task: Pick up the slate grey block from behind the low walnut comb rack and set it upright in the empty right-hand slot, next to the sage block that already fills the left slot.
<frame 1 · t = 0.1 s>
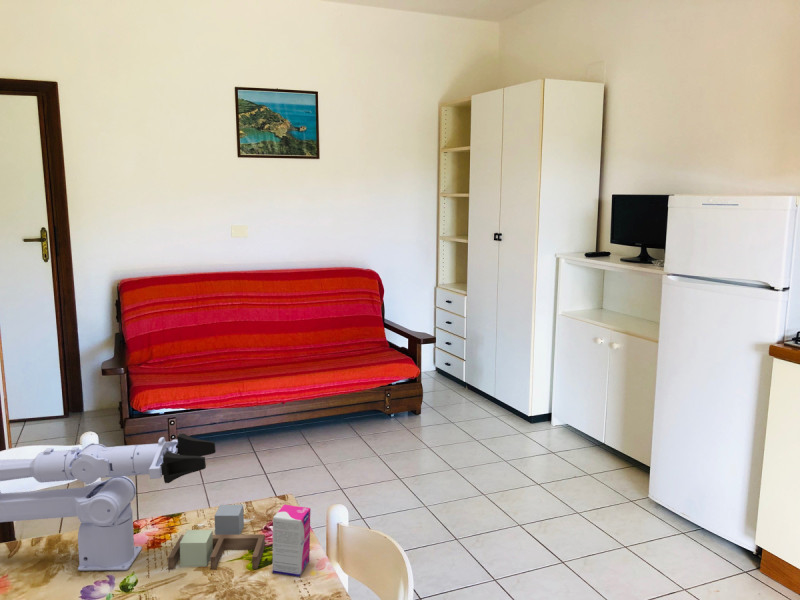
hand: (210, 454, 124), 22 cm above the table, tool horizontal, fingers open, 7 cm apart
sage block: (197, 559, 127), on the table
slate block: (229, 531, 138), on the table
comb rack: (217, 559, 127), on the table
supplement box: (291, 568, 125), on the table
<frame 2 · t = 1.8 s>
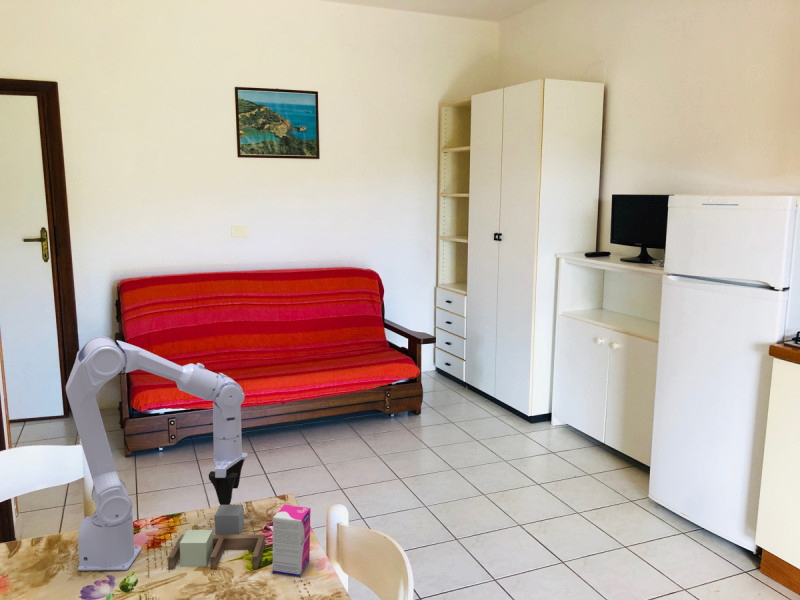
hand: (229, 495, 137), 8 cm above the table, tool pointing down, fingers open, 7 cm apart
nothing on the table moved.
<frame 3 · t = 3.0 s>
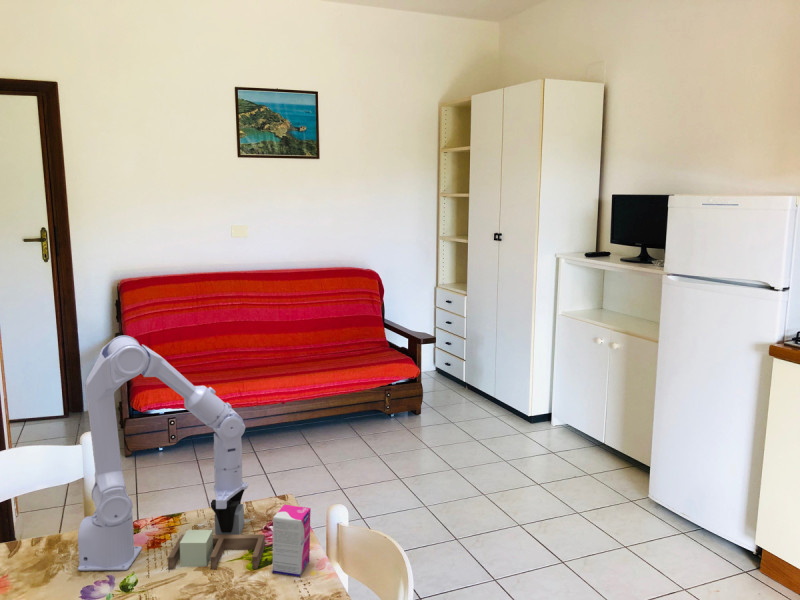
hand: (229, 525, 138), 1 cm above the table, tool pointing down, fingers closed on slate block, 5 cm apart
slate block: (229, 531, 138), on the table, touching gripper
everything else where it was.
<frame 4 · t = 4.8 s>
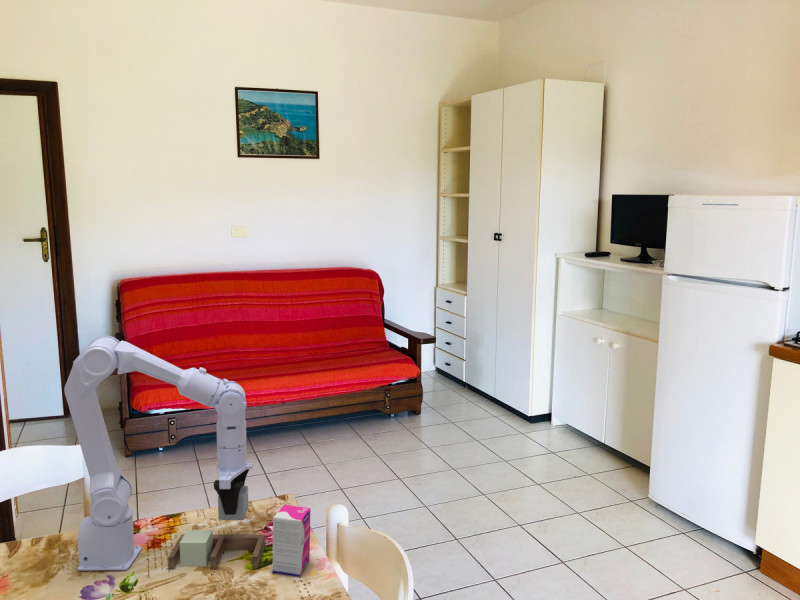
hand: (233, 507, 131), 8 cm above the table, tool pointing down, fingers closed on slate block, 5 cm apart
slate block: (233, 514, 131), point 7 cm above the table, touching gripper
everything else where it was.
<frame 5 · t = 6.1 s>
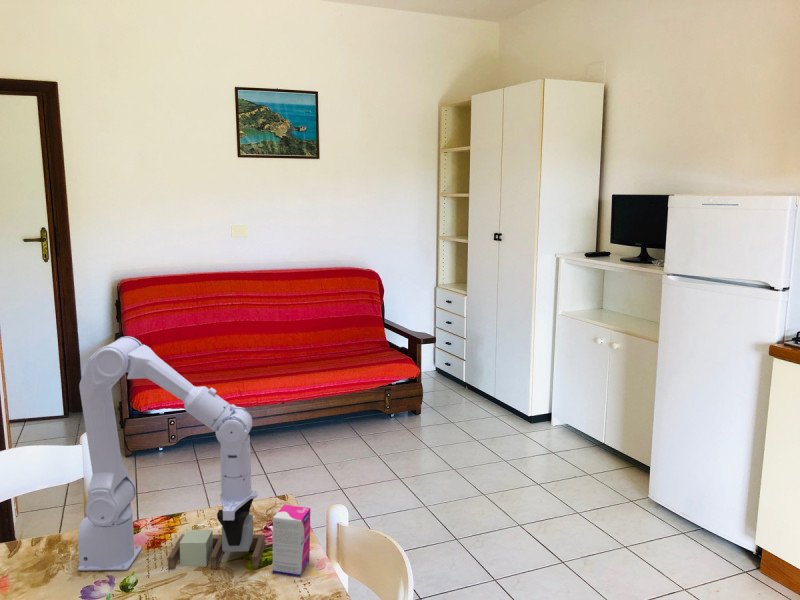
hand: (237, 537, 127), 5 cm above the table, tool pointing down, fingers closed on slate block, 5 cm apart
slate block: (238, 544, 127), point 3 cm above the table, touching gripper
everything else where it was.
when the fingers open (3 cm above the table, at t = 6.9 s): slate block drops 2 cm, on the table.
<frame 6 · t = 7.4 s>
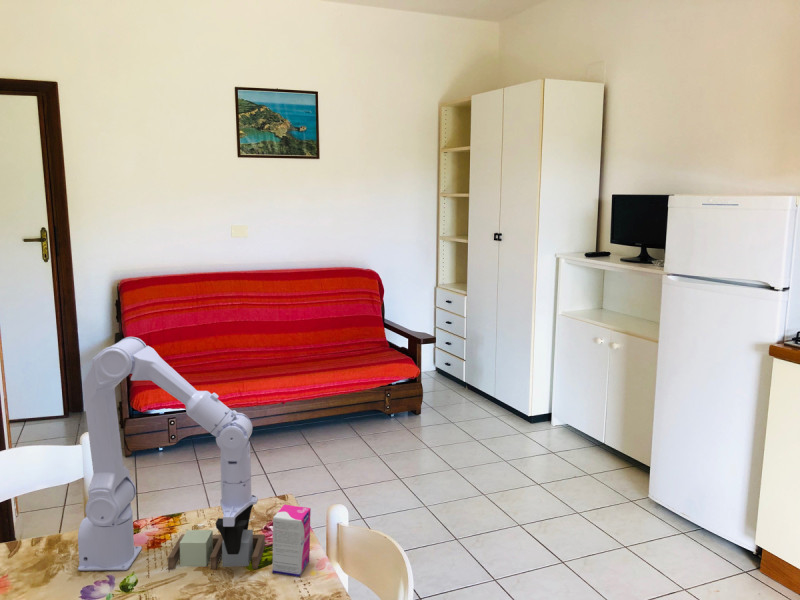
hand: (237, 543, 127), 3 cm above the table, tool pointing down, fingers open, 7 cm apart
slate block: (238, 559, 127), on the table
everything else where it was.
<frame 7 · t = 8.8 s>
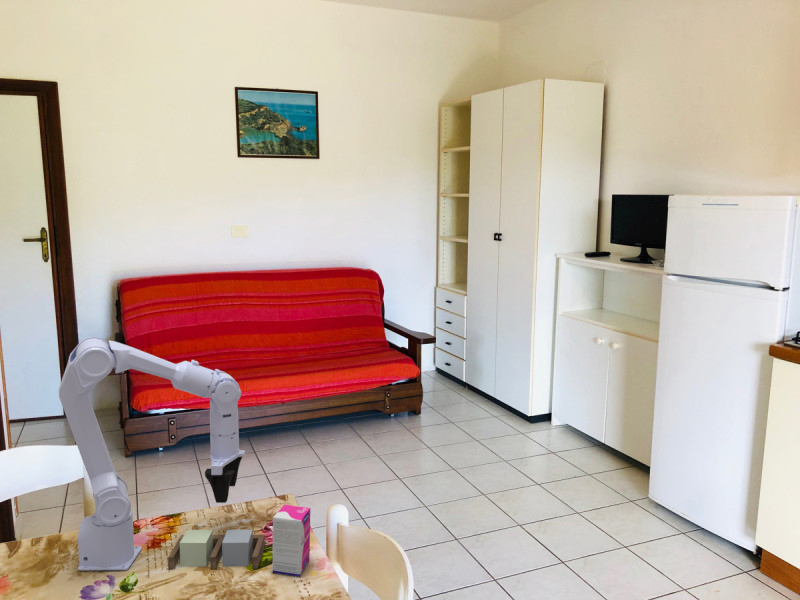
hand: (226, 493, 135), 9 cm above the table, tool pointing down, fingers open, 7 cm apart
nothing on the table moved.
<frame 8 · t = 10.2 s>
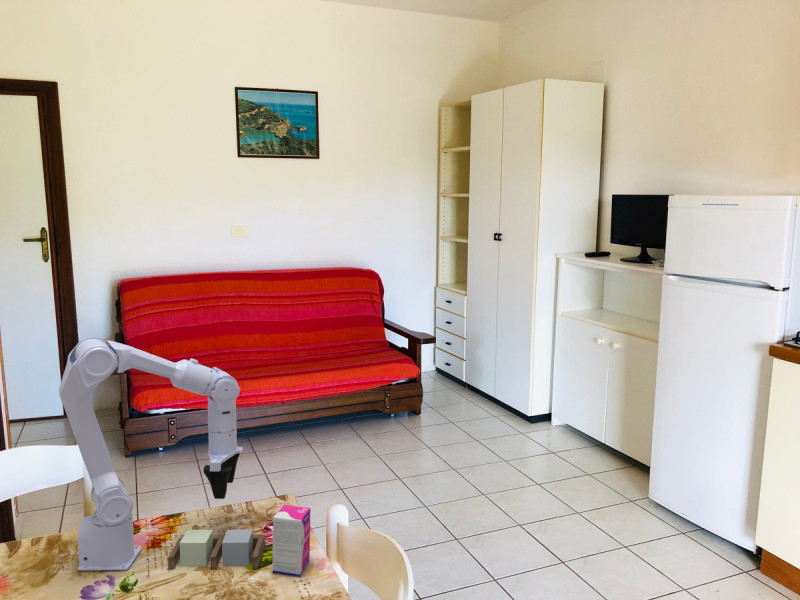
hand: (224, 489, 137), 9 cm above the table, tool pointing down, fingers open, 7 cm apart
nothing on the table moved.
at the end: slate block 0.0 cm from the target spot, on the table; slate block tilted 0°; the gripper is holding nothing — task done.
